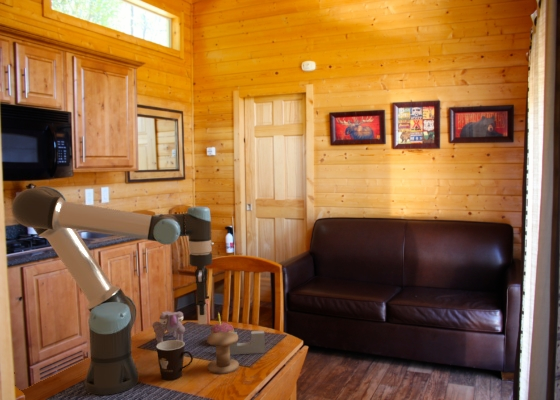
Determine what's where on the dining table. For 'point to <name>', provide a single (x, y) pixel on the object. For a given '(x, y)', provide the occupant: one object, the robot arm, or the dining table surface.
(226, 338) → the door knob
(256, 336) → the notch board
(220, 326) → the cupcake
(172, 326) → the pale pink animal-shaped figure
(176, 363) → the coffee mug
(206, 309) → the salmon pink block
